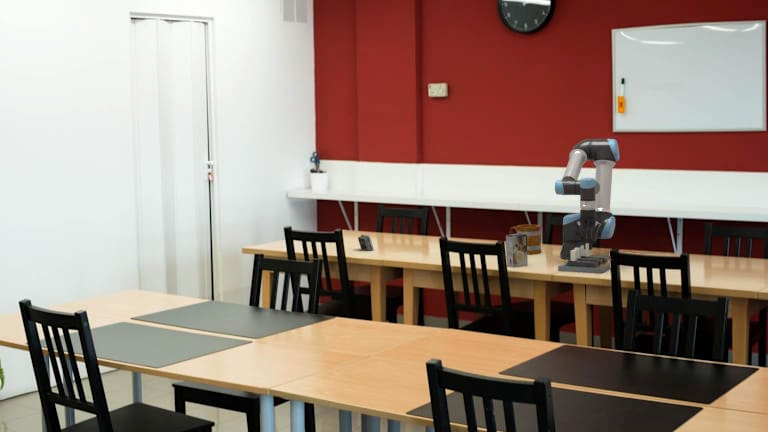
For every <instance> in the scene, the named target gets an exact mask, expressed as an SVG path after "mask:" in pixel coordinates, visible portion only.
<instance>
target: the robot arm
mask: <svg viewBox="0 0 768 432" xmlns="http://www.w3.org/2000/svg"><path fill="white" fill-rule="evenodd" d="M568 158H569V159H568V163H567V165H566V168H565V171H564V173H563V175H562V179H557V180H556V181H555V183H554V191H555V192H554V193H555V194H556V195H561V196H579V205H580V206H579V208H580V210H579V213H572V214H566V215H564V217H563V220H562V239H563V242H562V246H561V248H560V249H561V250H560V253H559V257H560V258H561V259H565V260H571V250H574V248H580V246H582V245H584V249H586V256H587V257H589V256H591V250H592V249H593V243H595V242H597V240H598V239H601V240H603V239H604V240H605V239H606V240H607V239H611V238H612V237H613V235H614V232H615V230H616V229H615V228H616V217H615V216H614V215H613V214H614V213H612V211H611V198H612V197H611V196H612V184H613V183H612V181H613V169H614V166H616V163H617V162H618V161H619V160H620V149H619V144H618V141H617V140H616V139H614V138H587V139H584V140H581V141H580V142H578V143H577V144H575V145H574V146H573V147H572V149H571V150H570V152H569V155H568ZM589 161H592V162H593V163H592V164H593V165H594V166H595V177H582V178H580V179H579V177H580V174H581V171H582V168H583V166H584V164H586V162H589Z"/></svg>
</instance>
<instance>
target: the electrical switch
mask: <svg viewBox="0 0 768 432" xmlns="http://www.w3.org/2000/svg"><path fill="white" fill-rule="evenodd" d="M357 240H358V243H359V246H360V247H359V248H360V249H361V251H366V252H369V251H371V252H372V251H374V250H375V249H374V246H373V245H374V244H373V242H372V241H373V240H372V239H371V236H370V234H369V235H368V234H364V233H361V234H360V236H358V237H357Z"/></svg>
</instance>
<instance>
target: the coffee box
mask: <svg viewBox="0 0 768 432" xmlns="http://www.w3.org/2000/svg"><path fill="white" fill-rule="evenodd" d="M505 253H506V254H505V255H506V259H505V260H506V261H507V264H506V266H507V267H512V268H515V267H523V266H524V267H525V266H528V263H529V262H528V255H527V234H521V233H518V234H517V233H513V234H510V233H509V234H505Z"/></svg>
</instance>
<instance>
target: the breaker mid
mask: <svg viewBox="0 0 768 432" xmlns="http://www.w3.org/2000/svg"><path fill="white" fill-rule="evenodd" d="M574 250H577V258H578V259H579V258H581V248H574Z"/></svg>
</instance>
